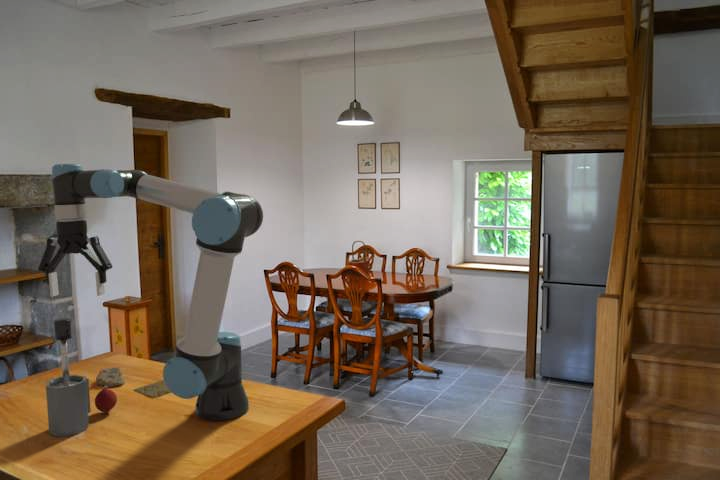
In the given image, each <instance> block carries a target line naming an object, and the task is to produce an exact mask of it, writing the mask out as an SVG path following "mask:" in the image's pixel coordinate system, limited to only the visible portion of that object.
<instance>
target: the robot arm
mask: <svg viewBox="0 0 720 480" xmlns="http://www.w3.org/2000/svg"><path fill="white" fill-rule="evenodd" d="M51 182H52V189H53V198H54V214H55V215H54V216H55V220H58V221H56V223H55V225H56V226H55V227H56V234H57V236H58V238H56V237H49V238H47V239H46V247H45V250H44V252H43V255H42V257H41V261H40V263H39V265H38V272H44V273H45V278H46V279H45V280H46V284H47V285H49V296H50V298H51V297H52V298H53V297H55V296H58V295H60V293H59V292H60V291H59V281H58V272H56V270H55V269H56V268H57V267H58V266H59V265H60V263H61V261H62V260H63V259H64V257H65V256H66V255H70V254H76V255H77V254H80V255H82V256H83V257H84V258H85V259H86V260H87V261H88V262H89V263H90V264H91V265H92V266H93V268H94V269H95V270H96V271H97V272H95V273H94V275H95V285H96V286H95V288H96V296H97V297H100V296H103V295H106V292H105V284H106V283H107V271H108V270H111V269H112V268H113V264H112V262H111V260H110V259H109V257H108V255H107V254H106V253H105V251H104V249H103V247H102V245H101V243H100V239H99V236H97V235H96V236H91V237H89V236H88V226H87V225H88V224H87V220H86V219H85V218H87V214H86V200H85V199H99V198H100V199H112V198H117V197H118V198H121V197H128V198H129V197H130V198H134V199H137V200H141V201H145V202H149V203H152V204H156V205H159V206H164V207H168V208H171V209H175V210H178V211H182V212H186V213H190V214H192V215H191V216H192V217H191V228H192V230H193V231H194V234H195V235H194V236H195V237H196V241H195V245H196V246H197V248H198V249H199V251H200V252H199V253H200V254H199V258H198V264H197V269H196V273H195V280H194V282H193V289H192V293H191V300H190V304H189V308H188V309H189V310H188V315H187V320H186V324H185V331H184V336H183V337H181V338H178V340H177V341H176V346H175V349H174V350H175V351H174V354H173V357H171V358H170V359H168V361H167V362H166V363H165V365H164V366H163V371H162V379H163V380H164V382H165V384H166V386H168V388H169V390H170V391H171V393H172V394H173V395H174V396H176V397H178V398H181V399H185V400H189V399H194V398H195V397H196V398H197V399H196V402H195V415H196V417H198V418H199V419H200V420H204V421H210V422H211V421H212V422H219V421H227V420H233V419H237V418H239V417H241V416H244V415H245V414H246V413H247V412H248V411H249V405H250V404H249V401H250V400H249V399H248V396H247V393H246V390H245V388H244V385H243V381H242V379H243V378H242V377H243V375H242V373H243V372H242V369H243V368H242V345H241V344H242V343H241V337H240V335H239V334H237V333H234V332H228V331H220V328H221V324H222V318H223V316H224V315H223V313H224V309H225V304H226V299H227V295H228V291H229V290H228V289H229V285H230V281H231V276H232V270H233V267H234V266H233V265H234V261H235V258H236V257H237V256H238V255H240V254H241V253H242V251H243V247H244V242H245V238H247V237H250V236H253V235H254V234H255V233H257V231H258V230H259V229H260V228H261V226H262V225H263V224H262V223H263V220H264V211H263V208H262V205H261V204H260V202H259V201H258V200H257V199H256V198H255V197H253V196H251V195H249V194H244V193H243V194H241V193H236V192H231V191H226V190H225V191H224V192H217V191H212V190H209V189H205V188H201V187H196V186H193V185H189V184H186V183H181V182H177V181H175V180H170V179H167V178H162V177H158V176H155V175H151V174H148V173H146V171H143V170H138V169H127V170H122V169H121V170H117V169H107V168H105V169H104V168H103V169H101V168H100V169H95V170H94V169H93V170H83V166H82V165H81V164H79V163H57V164H53V166H52V167H51ZM88 244H89V245H90V246H91V248H92V249H91V248H90V247H89V246H88ZM57 245H59V248H58V250H57V251H56V254H55V255H54V253H55V250H56V247H57ZM93 251H94V253H93ZM53 255H54V256H53Z"/></svg>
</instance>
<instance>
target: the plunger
mask: <svg viewBox="0 0 720 480" xmlns="http://www.w3.org/2000/svg"><path fill="white" fill-rule="evenodd" d="M53 329H54V340H55V341H59V343H60V355H61V356H60V357H61V369H62V370H61V373H62V376H63V382H61V383H58V384H56V385H54V386H55V387H63V386H70V385H74V384H76V383H79V381H70V378H69V375H70V367H69V353H68V352H69V351H68V340H70V339H73V338H72V337H73V336H72V335H73V334H72V319H71V318H70V317H62V318H61V317H60V318H56V319H54V320H53Z"/></svg>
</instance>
